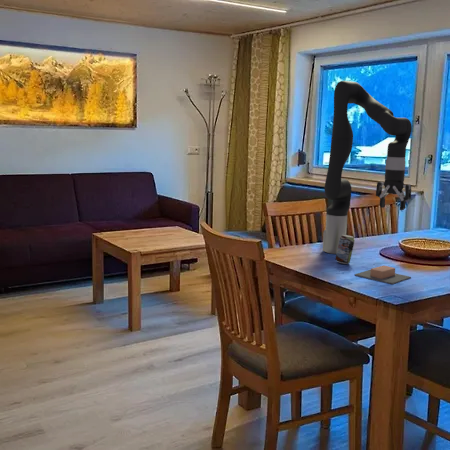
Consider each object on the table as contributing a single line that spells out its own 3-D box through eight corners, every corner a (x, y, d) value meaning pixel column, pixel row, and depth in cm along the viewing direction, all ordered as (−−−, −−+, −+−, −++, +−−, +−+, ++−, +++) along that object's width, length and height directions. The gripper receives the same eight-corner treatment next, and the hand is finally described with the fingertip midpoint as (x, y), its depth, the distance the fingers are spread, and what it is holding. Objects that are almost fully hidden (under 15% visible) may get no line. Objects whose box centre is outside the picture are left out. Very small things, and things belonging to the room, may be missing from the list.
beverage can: (332, 262, 241) (334, 234, 239) (347, 261, 244) (349, 233, 242) (340, 265, 235) (342, 236, 233) (355, 264, 238) (357, 236, 236)
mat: (354, 275, 220) (354, 274, 220) (373, 269, 230) (373, 268, 230) (392, 284, 209) (392, 283, 209) (410, 278, 219) (410, 276, 219)
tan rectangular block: (383, 272, 224) (383, 265, 224) (394, 275, 221) (395, 268, 220) (370, 276, 218) (370, 268, 218) (381, 278, 215) (382, 271, 214)
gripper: (416, 169, 226) (412, 210, 229) (384, 166, 236) (381, 205, 239) (407, 170, 221) (403, 211, 224) (374, 167, 231) (371, 207, 234)
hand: (392, 208), depth 231 cm, fingers open, 8 cm apart
